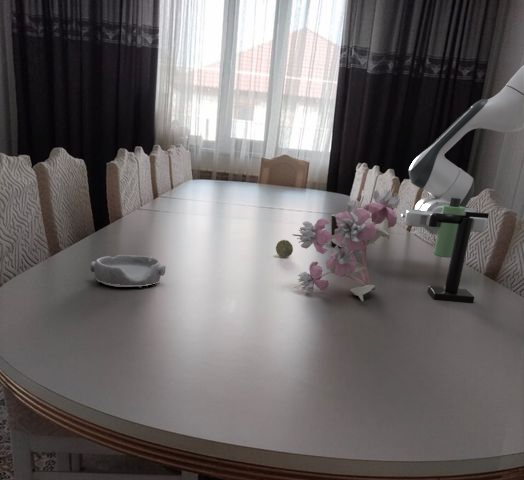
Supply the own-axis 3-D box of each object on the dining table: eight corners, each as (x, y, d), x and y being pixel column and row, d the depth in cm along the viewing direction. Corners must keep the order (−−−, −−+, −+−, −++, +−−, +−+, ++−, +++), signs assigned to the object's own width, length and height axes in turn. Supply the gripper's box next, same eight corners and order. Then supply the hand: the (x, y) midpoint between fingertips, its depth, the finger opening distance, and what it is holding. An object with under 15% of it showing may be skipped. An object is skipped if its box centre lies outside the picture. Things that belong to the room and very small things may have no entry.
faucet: (464, 294, 126) (483, 211, 119) (473, 303, 120) (493, 215, 112) (412, 290, 127) (428, 207, 119) (418, 298, 120) (435, 210, 113)
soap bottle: (447, 253, 133) (459, 197, 128) (459, 258, 129) (471, 199, 123) (429, 253, 132) (440, 196, 127) (440, 257, 127) (452, 198, 122)
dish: (173, 284, 116) (173, 262, 114) (121, 294, 106) (121, 270, 104) (132, 271, 125) (132, 250, 123) (81, 279, 114) (79, 257, 113)
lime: (294, 257, 153) (295, 240, 151) (283, 259, 150) (284, 242, 148) (282, 254, 156) (284, 238, 154) (272, 256, 152) (273, 239, 151)
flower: (320, 268, 135) (304, 178, 118) (407, 274, 125) (402, 177, 108) (291, 317, 123) (268, 225, 106) (384, 329, 112) (375, 228, 96)
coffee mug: (326, 246, 173) (330, 216, 169) (329, 242, 181) (332, 213, 177) (361, 250, 171) (365, 220, 167) (362, 246, 179) (367, 217, 175)
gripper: (401, 202, 139) (411, 208, 126) (479, 208, 138) (496, 215, 125) (397, 226, 141) (406, 234, 128) (473, 232, 140) (490, 241, 127)
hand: (451, 225), depth 127 cm, fingers closed on soap bottle, 5 cm apart
